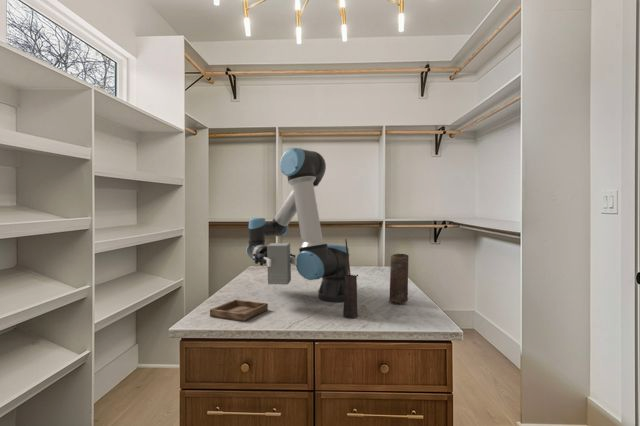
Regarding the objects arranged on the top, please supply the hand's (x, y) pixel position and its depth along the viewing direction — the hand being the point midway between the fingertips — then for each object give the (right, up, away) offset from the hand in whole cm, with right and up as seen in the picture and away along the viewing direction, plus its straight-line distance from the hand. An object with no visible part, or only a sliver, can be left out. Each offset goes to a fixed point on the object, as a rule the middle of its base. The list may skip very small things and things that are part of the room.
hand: (283, 262), depth 135 cm
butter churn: (+26, -19, -9) cm, 33 cm away
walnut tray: (-16, -18, -5) cm, 25 cm away
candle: (+47, -18, +9) cm, 51 cm away
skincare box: (-2, -9, +4) cm, 10 cm away
